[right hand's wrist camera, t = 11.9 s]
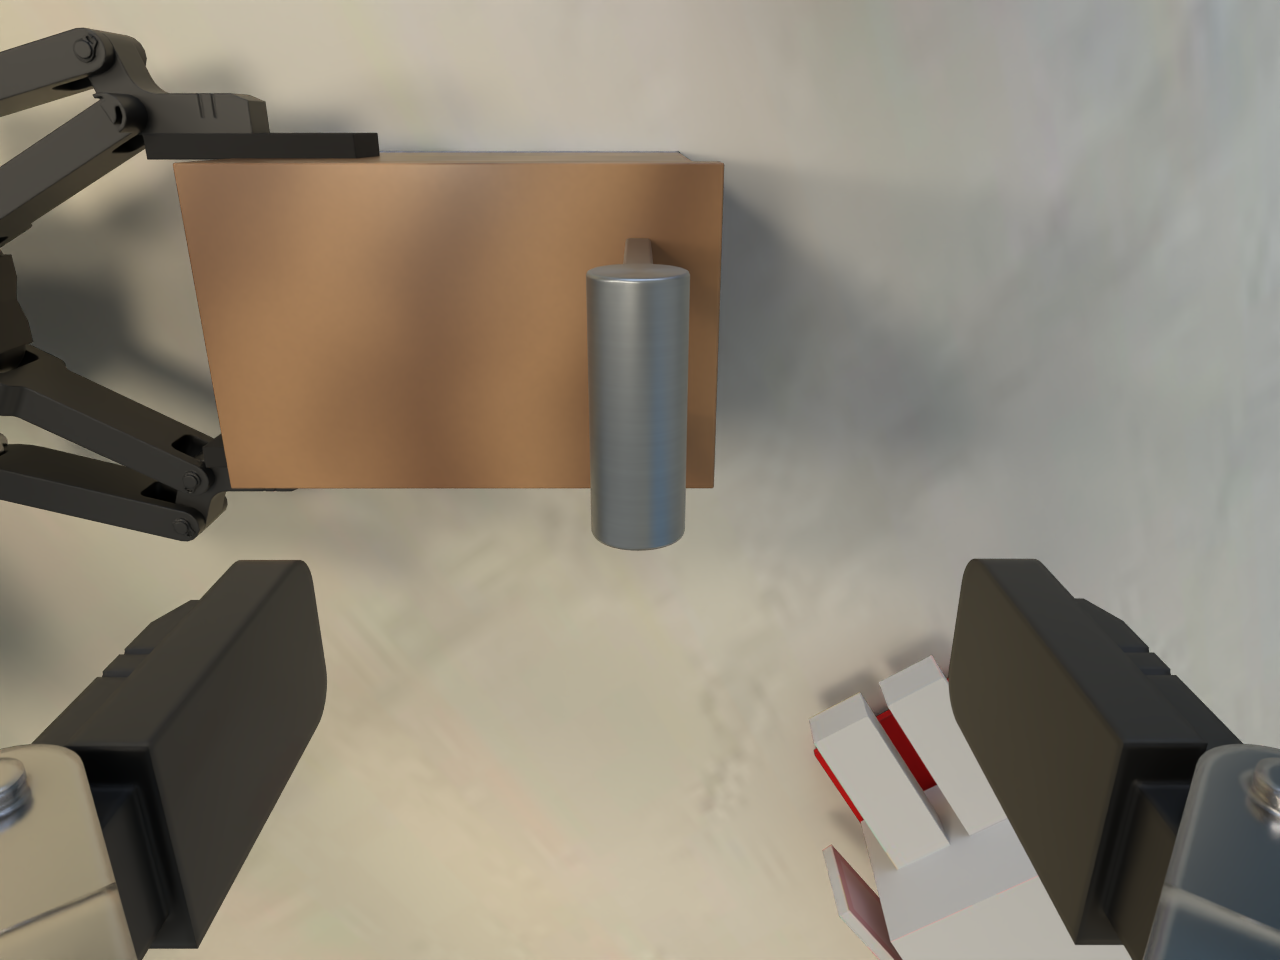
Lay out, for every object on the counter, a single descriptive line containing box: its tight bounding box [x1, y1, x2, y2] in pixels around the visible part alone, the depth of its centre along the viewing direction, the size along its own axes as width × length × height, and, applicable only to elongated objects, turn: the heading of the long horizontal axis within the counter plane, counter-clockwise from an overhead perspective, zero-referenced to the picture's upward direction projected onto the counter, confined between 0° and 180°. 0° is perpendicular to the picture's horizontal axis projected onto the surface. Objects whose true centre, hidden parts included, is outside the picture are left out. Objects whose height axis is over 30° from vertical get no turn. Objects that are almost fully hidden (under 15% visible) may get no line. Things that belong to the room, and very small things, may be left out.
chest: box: [206, 151, 691, 161], centre depth 32 cm, size 14×10×11 cm
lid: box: [173, 161, 724, 551], centre depth 23 cm, size 15×10×10 cm, turn 90°
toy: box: [809, 655, 1132, 960], centre depth 44 cm, size 12×13×30 cm
